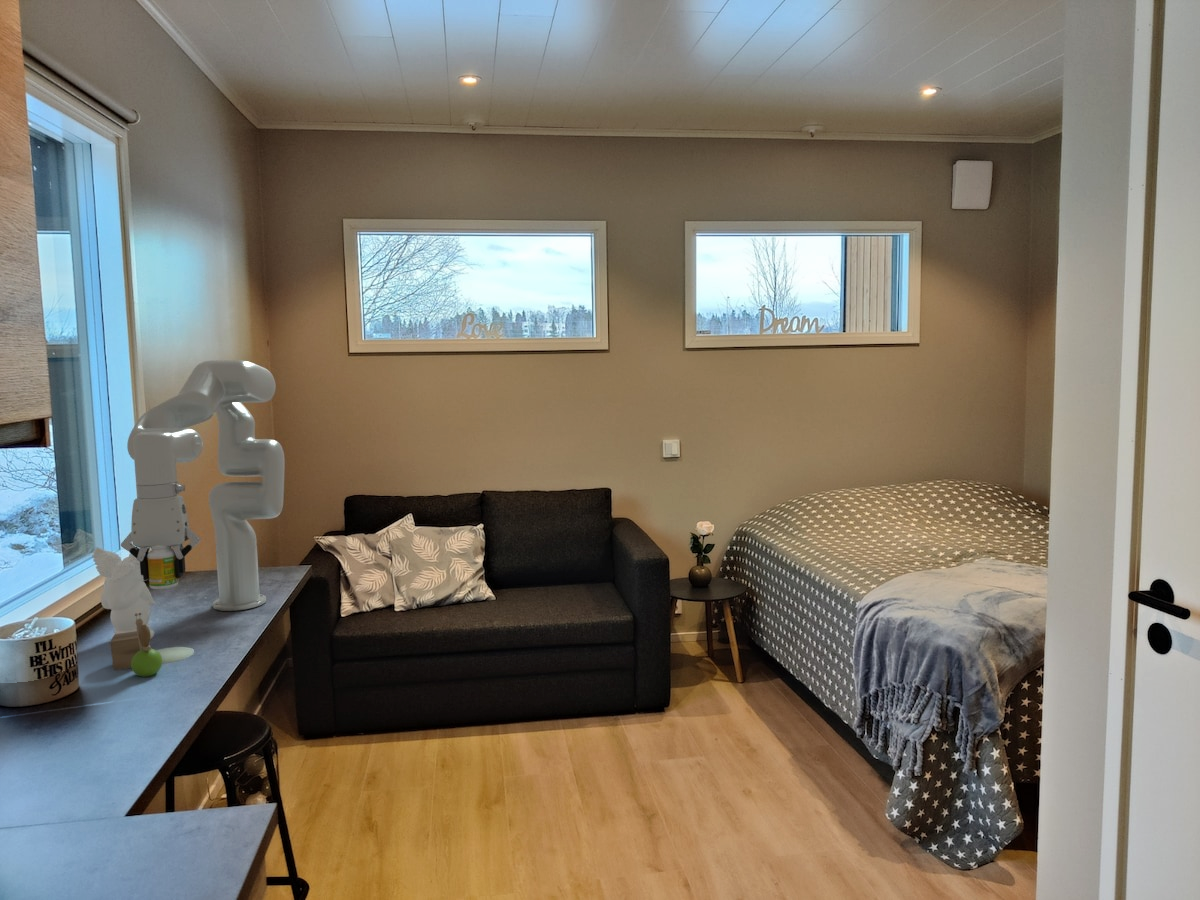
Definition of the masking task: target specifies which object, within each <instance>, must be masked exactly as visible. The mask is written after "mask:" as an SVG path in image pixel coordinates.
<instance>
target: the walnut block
mask: <svg viewBox="0 0 1200 900" xmlns="http://www.w3.org/2000/svg"><path fill="white" fill-rule="evenodd" d="M111 639H112V640H111ZM111 639H110V641H109V645H110V653H111V660H112V668H113V671H119V670H120V671H121V670H127V669H132V668H131V661H132V658H133V656H134V655H135V654H136V653H137V652H138V651H140V650H142V648H141V646H140V644H139V640H138V636H137V631H134V632H127V633H120V634H114V635H113V638H112V637H111Z"/></svg>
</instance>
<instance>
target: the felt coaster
mask: <svg viewBox="0 0 1200 900" xmlns="http://www.w3.org/2000/svg"><path fill="white" fill-rule="evenodd" d="M155 650H156V651H158V652H159V653H160V654H161V656H162V665H163V664H169V663H174V662H179V661H182V660H184V659H185V660H186V659H187V658H189V657H191V656H192V655H194V654H195V649H194V648H191V647H187V646H174V647H173V646H172V647H165V648H159V649H155Z"/></svg>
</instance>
